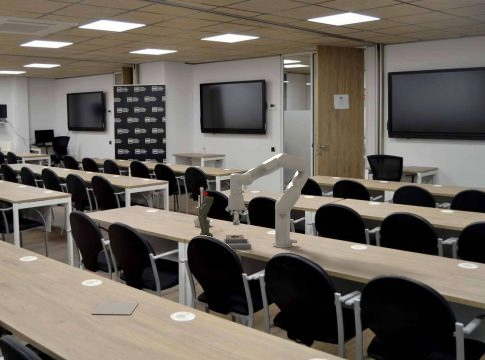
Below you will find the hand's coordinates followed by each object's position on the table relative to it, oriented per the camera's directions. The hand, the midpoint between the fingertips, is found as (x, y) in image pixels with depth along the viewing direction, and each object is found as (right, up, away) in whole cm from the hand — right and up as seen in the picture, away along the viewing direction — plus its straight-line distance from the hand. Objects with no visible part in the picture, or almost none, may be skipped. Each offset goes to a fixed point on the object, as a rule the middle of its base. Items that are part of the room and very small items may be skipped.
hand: (236, 220), depth 339 cm
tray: (0, -17, -1) cm, 17 cm away
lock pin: (0, -3, 0) cm, 3 cm away
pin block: (-1, -15, +16) cm, 22 cm away
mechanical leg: (-22, -14, +26) cm, 37 cm away
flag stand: (-27, -9, +65) cm, 72 cm away
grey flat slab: (-56, -31, -117) cm, 133 cm away
